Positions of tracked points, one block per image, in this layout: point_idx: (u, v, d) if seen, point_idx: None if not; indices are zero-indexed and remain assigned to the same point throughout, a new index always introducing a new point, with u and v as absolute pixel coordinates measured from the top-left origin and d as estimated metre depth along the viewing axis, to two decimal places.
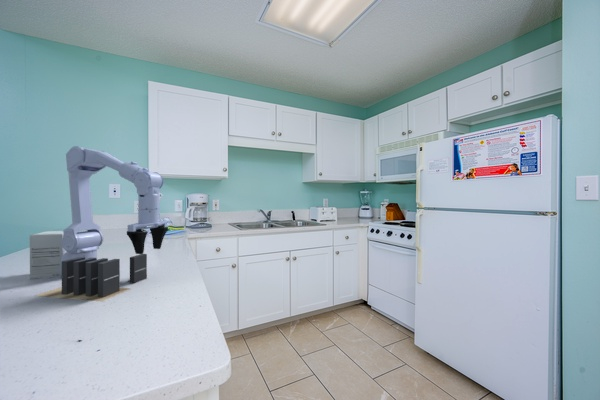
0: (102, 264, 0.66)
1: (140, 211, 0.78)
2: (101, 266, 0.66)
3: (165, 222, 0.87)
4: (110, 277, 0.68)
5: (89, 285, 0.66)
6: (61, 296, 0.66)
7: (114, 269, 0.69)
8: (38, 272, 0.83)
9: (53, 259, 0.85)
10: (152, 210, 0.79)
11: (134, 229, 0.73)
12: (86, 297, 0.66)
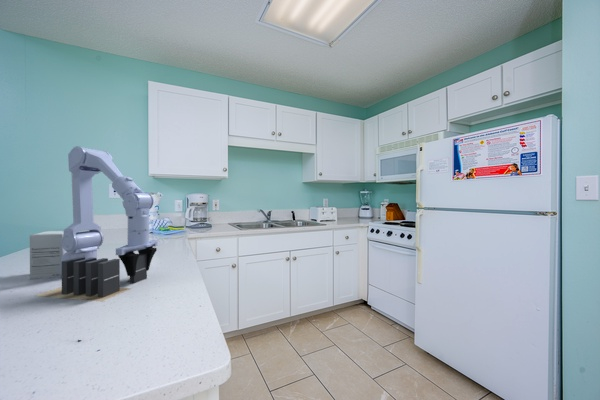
0: (102, 264, 0.66)
1: (129, 233, 0.76)
2: (101, 266, 0.66)
3: (156, 242, 0.85)
4: (110, 277, 0.68)
5: (89, 285, 0.66)
6: (61, 296, 0.66)
7: (114, 269, 0.69)
8: (38, 272, 0.83)
9: (53, 259, 0.85)
10: (141, 232, 0.77)
11: (122, 253, 0.72)
12: (86, 297, 0.66)
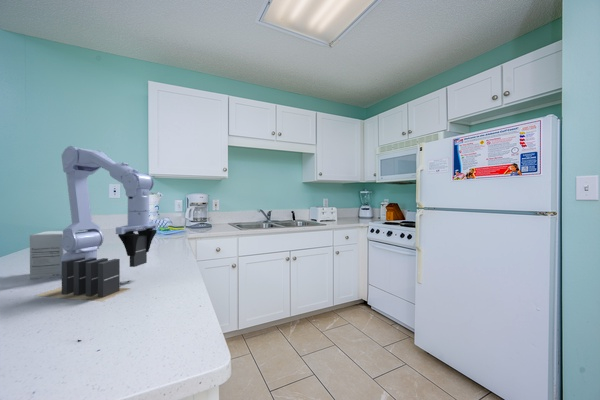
0: (102, 264, 0.66)
1: (129, 213, 0.76)
2: (101, 266, 0.66)
3: (156, 224, 0.85)
4: (110, 277, 0.68)
5: (89, 285, 0.66)
6: (61, 296, 0.66)
7: (114, 269, 0.69)
8: (38, 272, 0.83)
9: (53, 259, 0.85)
10: (141, 212, 0.77)
11: (122, 232, 0.72)
12: (86, 297, 0.66)
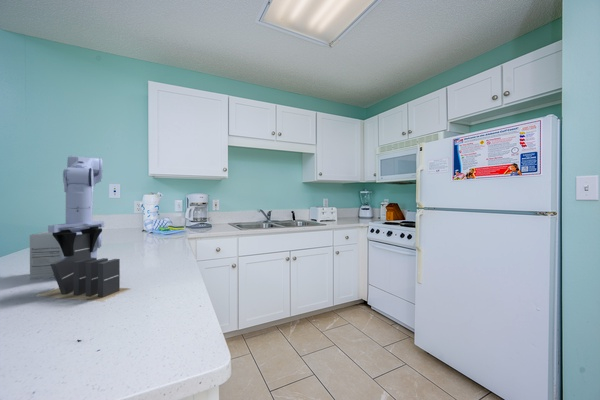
0: (102, 264, 0.66)
1: (67, 210, 0.71)
2: (101, 266, 0.66)
3: (102, 223, 0.80)
4: (110, 277, 0.68)
5: (89, 285, 0.66)
6: (61, 296, 0.66)
7: (114, 269, 0.69)
8: (38, 272, 0.83)
9: (53, 259, 0.85)
10: (81, 209, 0.72)
11: (55, 230, 0.67)
12: (86, 297, 0.66)
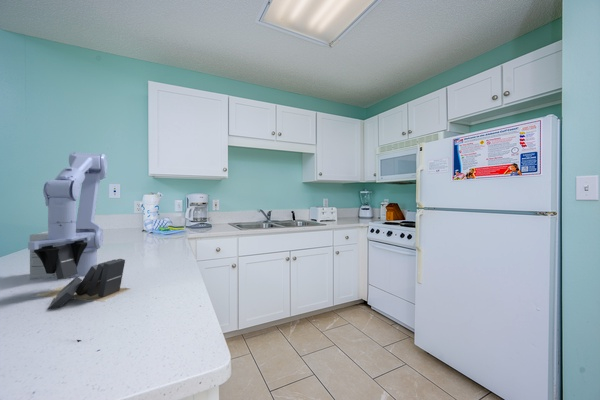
0: (108, 265, 0.65)
1: (49, 225, 0.68)
2: (106, 267, 0.65)
3: (88, 236, 0.77)
4: (113, 277, 0.68)
5: (93, 286, 0.66)
6: None
7: (119, 269, 0.69)
8: (38, 272, 0.83)
9: None
10: (64, 224, 0.69)
11: (36, 247, 0.63)
12: (86, 297, 0.66)
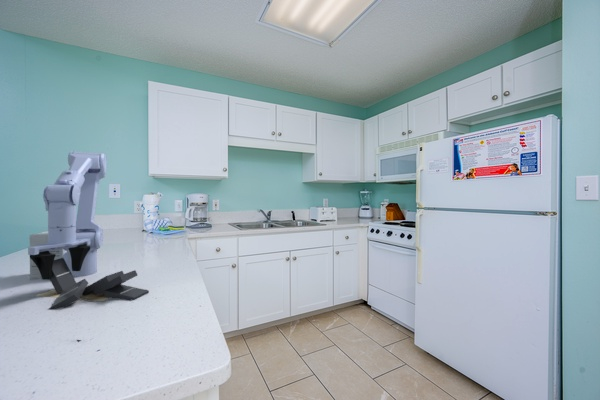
0: None
1: (49, 230, 0.68)
2: None
3: (88, 240, 0.77)
4: None
5: (103, 289, 0.66)
6: None
7: None
8: (38, 272, 0.83)
9: None
10: (64, 228, 0.69)
11: (36, 252, 0.63)
12: (86, 297, 0.66)
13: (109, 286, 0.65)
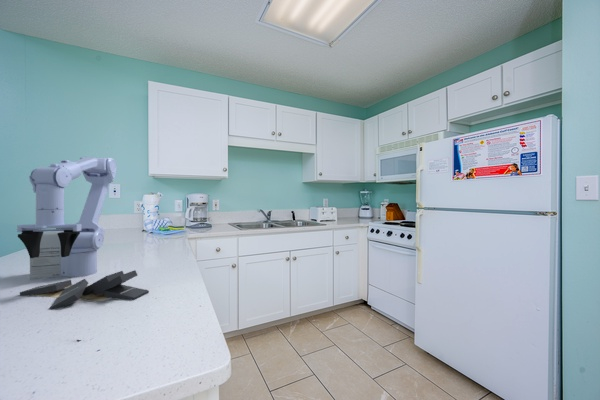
0: None
1: None
2: None
3: (73, 226, 0.71)
4: None
5: (103, 289, 0.66)
6: None
7: None
8: (38, 272, 0.83)
9: (53, 259, 0.85)
10: (37, 210, 0.68)
11: (18, 230, 0.69)
12: (86, 297, 0.66)
13: (109, 286, 0.65)
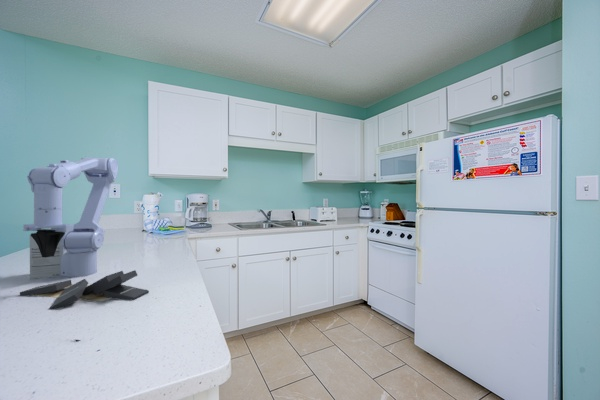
0: None
1: None
2: None
3: (63, 227, 0.69)
4: None
5: (103, 289, 0.66)
6: None
7: None
8: (38, 272, 0.83)
9: (53, 259, 0.85)
10: (34, 210, 0.69)
11: (24, 228, 0.71)
12: (86, 297, 0.66)
13: (109, 286, 0.65)
